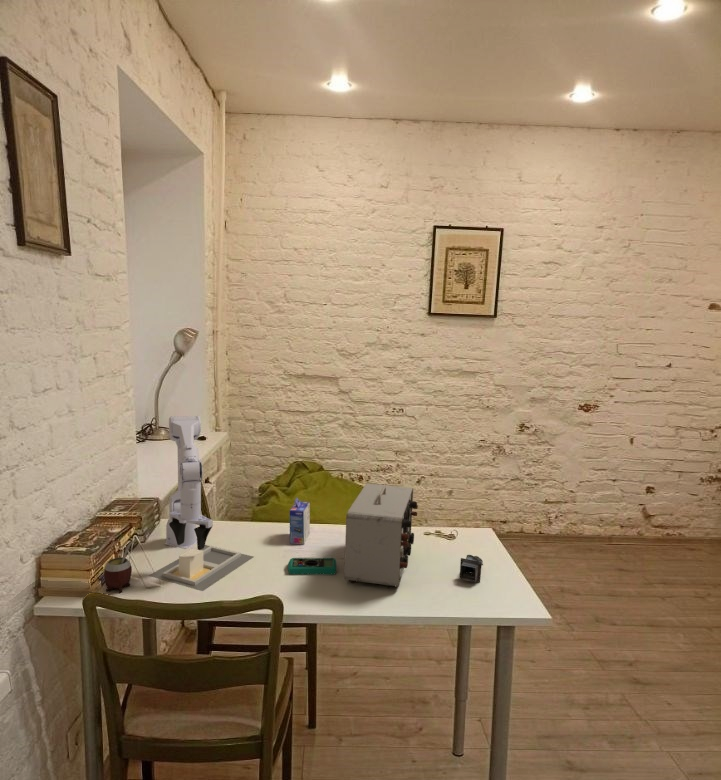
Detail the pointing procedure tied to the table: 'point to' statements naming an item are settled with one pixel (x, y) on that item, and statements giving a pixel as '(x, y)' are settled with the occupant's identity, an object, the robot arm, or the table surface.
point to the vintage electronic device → (379, 534)
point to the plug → (191, 563)
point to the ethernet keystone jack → (471, 568)
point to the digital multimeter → (312, 566)
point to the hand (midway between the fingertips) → (190, 546)
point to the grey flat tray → (205, 568)
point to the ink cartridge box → (299, 522)
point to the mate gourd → (118, 572)
